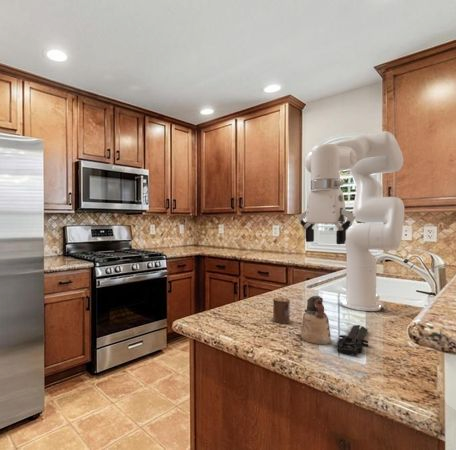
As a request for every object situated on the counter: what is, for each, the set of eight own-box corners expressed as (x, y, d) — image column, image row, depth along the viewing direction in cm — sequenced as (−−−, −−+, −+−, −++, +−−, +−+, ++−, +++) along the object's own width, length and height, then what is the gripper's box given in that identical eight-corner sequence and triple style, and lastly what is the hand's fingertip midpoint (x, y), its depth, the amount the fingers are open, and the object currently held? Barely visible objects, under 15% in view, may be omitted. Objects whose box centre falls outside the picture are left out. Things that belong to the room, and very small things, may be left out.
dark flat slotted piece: (354, 326, 96) (354, 322, 96) (379, 331, 92) (379, 327, 92) (328, 349, 78) (329, 344, 78) (359, 358, 74) (359, 352, 74)
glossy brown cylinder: (280, 317, 104) (280, 296, 104) (293, 322, 100) (293, 300, 100) (269, 320, 102) (270, 298, 101) (282, 324, 97) (283, 302, 97)
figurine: (324, 335, 88) (324, 293, 88) (335, 345, 81) (336, 299, 81) (297, 334, 89) (298, 292, 89) (306, 343, 82) (307, 298, 82)
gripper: (362, 184, 89) (361, 244, 89) (306, 189, 104) (306, 240, 104) (347, 183, 85) (346, 245, 86) (291, 188, 100) (291, 241, 101)
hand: (324, 242), depth 95 cm, fingers open, 9 cm apart
